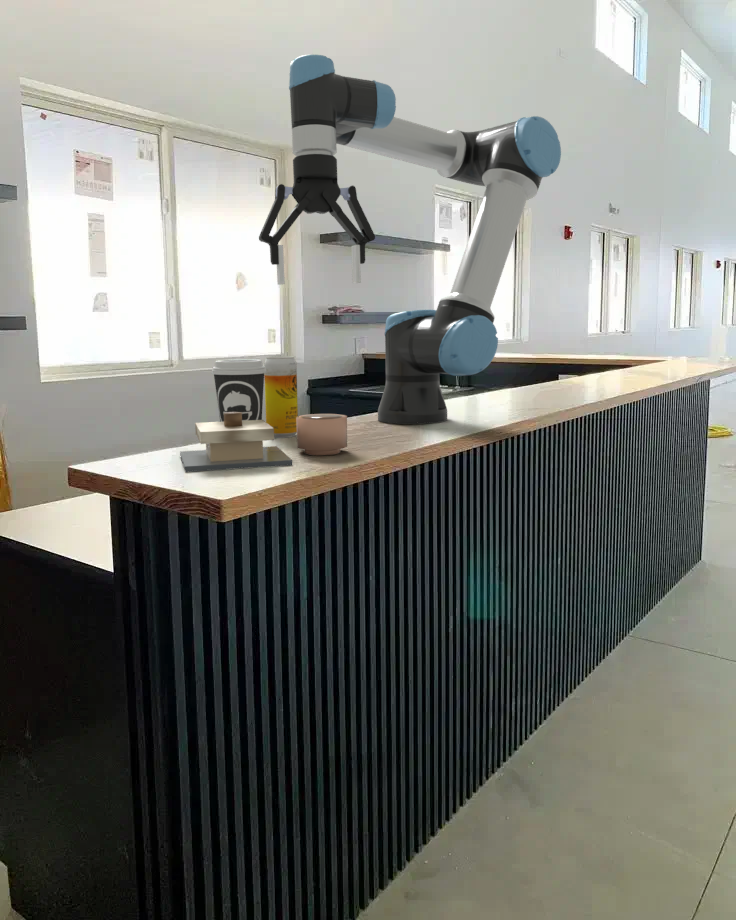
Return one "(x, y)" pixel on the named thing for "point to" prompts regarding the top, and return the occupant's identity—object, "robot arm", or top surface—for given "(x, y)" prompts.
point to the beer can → (281, 395)
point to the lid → (233, 430)
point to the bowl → (321, 433)
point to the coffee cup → (240, 387)
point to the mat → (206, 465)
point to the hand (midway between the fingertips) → (319, 284)
